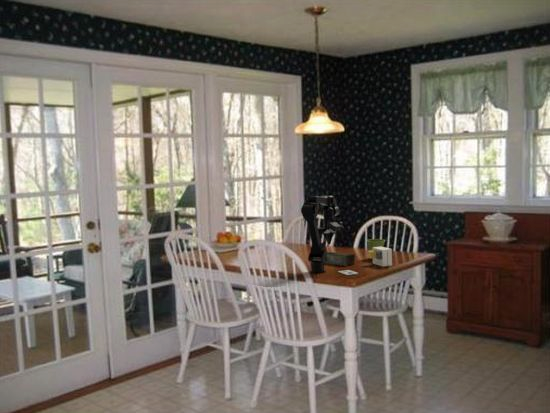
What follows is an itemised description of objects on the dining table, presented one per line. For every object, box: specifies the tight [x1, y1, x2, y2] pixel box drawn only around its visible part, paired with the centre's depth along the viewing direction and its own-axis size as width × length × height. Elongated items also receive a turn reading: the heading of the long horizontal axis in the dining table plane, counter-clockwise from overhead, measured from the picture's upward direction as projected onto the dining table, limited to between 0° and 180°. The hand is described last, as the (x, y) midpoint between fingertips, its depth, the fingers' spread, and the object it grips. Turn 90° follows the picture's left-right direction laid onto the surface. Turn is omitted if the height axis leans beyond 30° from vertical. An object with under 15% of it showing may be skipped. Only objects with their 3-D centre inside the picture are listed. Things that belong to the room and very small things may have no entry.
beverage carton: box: [323, 251, 356, 267], centre depth 337 cm, size 8×19×7 cm, turn 44°
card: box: [337, 269, 359, 276], centre depth 309 cm, size 7×10×1 cm
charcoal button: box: [376, 251, 382, 260], centre depth 326 cm, size 4×3×4 cm
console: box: [372, 246, 393, 267], centre depth 329 cm, size 6×11×10 cm, turn 22°
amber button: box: [366, 250, 377, 260], centre depth 330 cm, size 4×3×4 cm
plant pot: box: [365, 238, 386, 260], centre depth 349 cm, size 12×12×11 cm
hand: (329, 244), depth 328 cm, fingers closed
